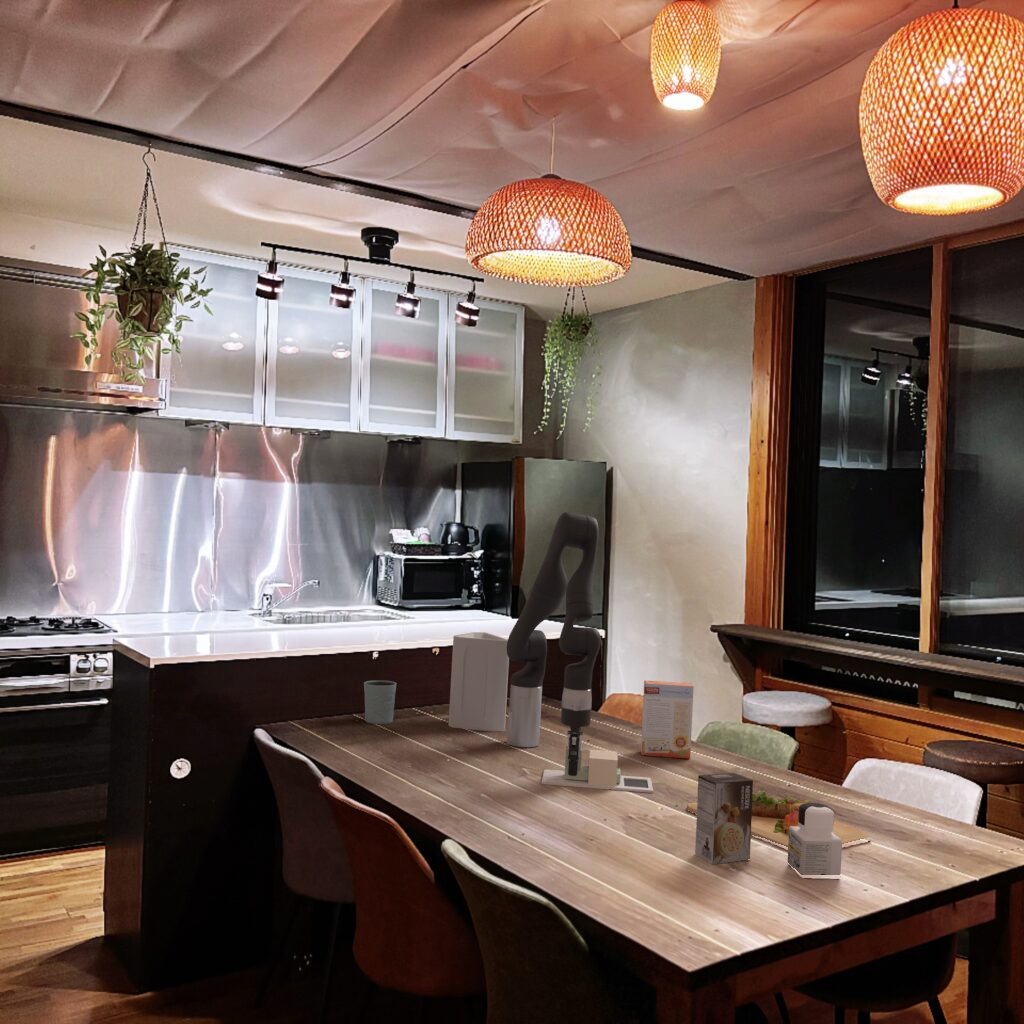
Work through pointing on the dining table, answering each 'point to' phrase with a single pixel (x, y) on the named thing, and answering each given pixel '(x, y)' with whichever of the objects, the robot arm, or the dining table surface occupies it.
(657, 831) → the dining table surface
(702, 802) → the coffee box
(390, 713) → the grey green cup
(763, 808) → the cutting board
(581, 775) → the sage green stepped block
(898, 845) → the dining table surface
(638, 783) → the white base plate
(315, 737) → the dining table surface
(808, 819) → the container
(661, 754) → the cracker box
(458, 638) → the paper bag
